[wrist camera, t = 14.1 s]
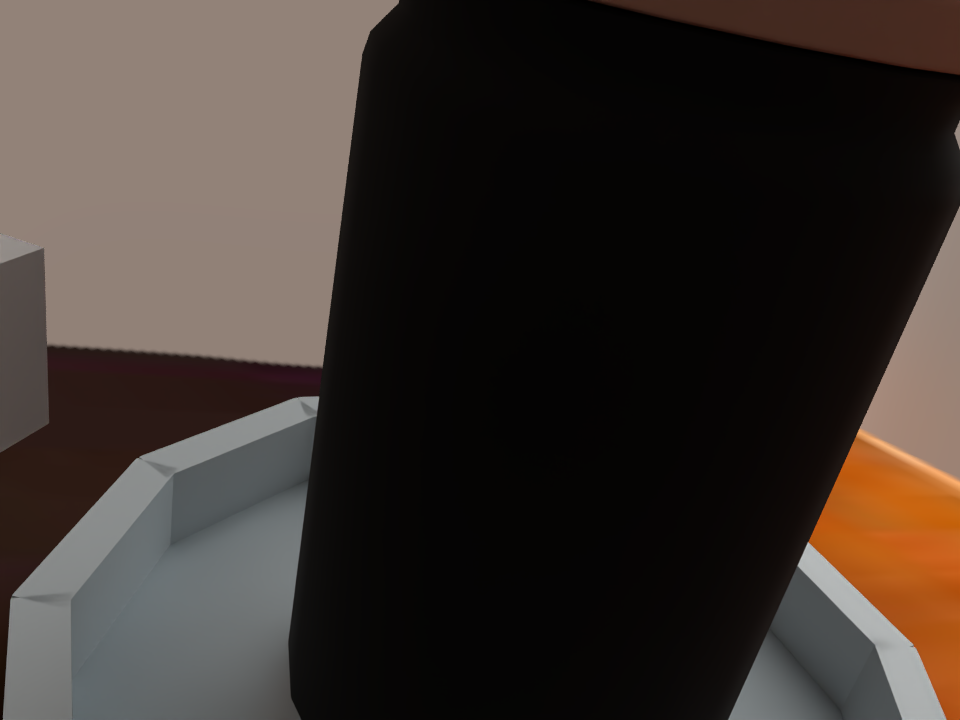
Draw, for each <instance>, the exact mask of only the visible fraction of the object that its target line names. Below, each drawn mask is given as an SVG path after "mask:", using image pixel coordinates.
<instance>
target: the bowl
mask: <svg viewBox="0 0 960 720" xmlns="http://www.w3.org/2000/svg"><path fill="white" fill-rule="evenodd" d="M318 402H319V397H298V399H297V398H294V399H291V400H289V401H286V402H283V403H281V404H278V405H275V406H273V407H270V408H267V409H265V410H262V411H259V412H257V413H254V414H252V415H249V416H246V417H244V418H241V419H238V420H236V421H233V422H230V423H228V424H225V425H222V426H220V427H217V428H214V429H212V430H209V431H206V432H204V433H201V434H199V435H196V436H193V437H191V438H188V439H185V440H183V441H180V442H177V443H175V444H172V445H169V446H167V447H164V448H161V449H159V450H156V451H153V452H151V453H148V454H146V455H143V456H140V457H139V459H138V458H137V459H136V460H135V461H134V462H133V463H132V464H131V465H130V466H129V467H128V469H127V470H126V471H125V472H124V473H123V474H122V475H121V476H120V477H119V478H118V479H117V481H116V482H115V483H114V484H113V485H112V486H111V487H110V488H109V489H108V490H107V492H106V493H105V494H104V495H103V496H102V497H101V498H100V499H99V500H98V501H97V503H96V504H95V505H94V506H93V507H92V508H91V509H90V510H89V511H88V512H87V514H86V515H85V516H84V517H83V518H82V519H81V520H80V521H79V522H78V523H77V525H76V526H75V527H74V528H73V529H72V530H71V531H70V532H69V533H68V534H67V536H66V537H65V538H64V539H63V540H62V541H61V542H60V543H59V544H58V545H57V547H56V548H55V549H54V550H53V551H52V552H51V553H50V554H49V555H48V556H47V557H46V559H45V560H44V561H43V562H42V563H41V564H40V565H39V566H38V567H37V568H36V570H35V571H34V572H33V573H32V574H31V575H30V576H29V577H28V578H27V579H26V581H25V582H24V583H23V584H22V585H21V586H20V587H19V588H18V589H17V590H16V592H15V593H14V594H13V595H12V598H11V603H10V619H9V634H8V649H7V664H6V679H5V695H4V710H3V720H301V718H300V716H299V714H298V712H297V710H296V708H295V706H294V703H293V701H292V699H291V691H290V671H289V651H288V639H289V631H290V623H291V616H292V608H293V600H294V592H295V584H296V576H297V568H298V560H299V552H300V544H301V536H302V528H303V521H304V513H305V505H306V497H307V489H308V481H309V473H310V465H311V457H312V449H313V441H314V433H315V426H316V418H317V410H318ZM913 646H914V645H913V644H912V643H911V642H910V641H909V640H908V639H907V638H906V637H905V636H904V635H903V634H902V633H901V632H900V631H899V630H898V629H897V628H896V627H894V626H893V625H892V624H891V623H890V622H889V621H888V620H887V619H886V618H885V617H884V616H883V615H882V614H881V613H880V612H879V611H878V610H877V609H876V608H875V607H874V606H873V605H872V604H871V603H870V602H869V601H868V600H867V599H866V598H865V597H864V596H863V595H862V594H861V593H860V592H859V591H858V590H857V589H856V588H855V587H853V586H852V585H851V584H850V583H849V582H848V581H847V580H846V579H845V578H844V577H843V576H842V575H841V574H840V573H839V572H838V571H837V570H836V569H835V568H834V567H833V566H832V565H831V564H830V563H829V562H828V561H827V560H826V559H825V558H824V557H823V556H822V555H821V554H820V553H819V552H818V551H817V550H816V549H815V548H814V547H813V546H811V545H810V544H809V543H808V544H807V546H806V548H805V550H804V553H803V555H802V557H801V559H800V561H799V564H798V566H797V568H796V570H795V573H794V575H793V577H792V579H791V581H790V584H789V586H788V588H787V590H786V592H785V595H784V597H783V599H782V601H781V604H780V606H779V608H778V610H777V612H776V615H775V617H774V619H773V621H772V624H771V626H770V628H769V630H768V632H767V635H766V637H765V639H764V641H763V644H762V646H761V648H760V650H759V652H758V655H757V657H756V659H755V661H754V664H753V666H752V668H751V670H750V672H749V675H748V677H747V679H746V681H745V683H744V686H743V688H742V690H741V692H740V695H739V697H738V699H737V701H736V703H735V706H734V708H733V710H732V712H731V715H730V717H729V719H728V720H946V718H945V715H944V713H943V711H942V708H941V706H940V703H939V701H938V699H937V696H936V694H935V692H934V689H933V687H932V685H931V682H930V680H929V678H928V675H927V673H926V670H925V668H924V666H923V663H922V661H921V659H920V656H919V654H918V652H917V649H916V648H914V647H913Z"/></svg>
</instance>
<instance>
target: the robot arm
mask: <svg viewBox="0 0 960 720" xmlns="http://www.w3.org/2000/svg"><path fill="white" fill-rule="evenodd" d="M45 302H46V301H45V267H44V248H43V247H40V246H37V245H34V244H31V243H28V242H25V241H22V240H19V239H16V238H13V237H10V236H7V235H4V234H1V233H0V452H2V451H3V450H5V449H7V448H8V447H10V446H12V445H13V444H15V443H17V442H18V441H20V440H22V439H23V438H25V437H27V436H28V435H30V434H32V433H33V432H35V431H37V430H38V429H40V428H42V427H43V426H45V425H47V424H48V423H49V408H48V373H47V338H46V303H45Z"/></svg>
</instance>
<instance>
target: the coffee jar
mask: <svg viewBox="0 0 960 720" xmlns="http://www.w3.org/2000/svg"><path fill="white" fill-rule="evenodd" d="M959 121H960V0H399V4H398V5H397V6H396V7H394V8H393V9H392V10H391V11H390V12H389V13H388V14H387V15H386V16H385V17H384V18H383V19H382V20H381V21H380V22H379V23H378V24H377V25H376V26H375V27H374V28H373V29H372V30H371V31H370V34H369V37H368V40H367V43H366V45H365V48H364V51H363V54H362V62H361V69H360V77H359V86H358V93H357V101H356V109H355V117H354V125H353V133H352V140H351V149H350V156H349V164H348V172H347V180H346V188H345V196H344V204H343V212H342V221H341V228H340V235H339V243H338V252H337V259H336V267H335V276H334V283H333V291H332V299H331V308H330V316H329V323H328V330H327V339H326V346H325V355H324V362H323V370H322V378H321V386H320V394H319V402H318V410H317V418H316V426H315V433H314V441H313V449H312V457H311V465H310V473H309V481H308V489H307V497H306V505H305V513H304V521H303V528H302V536H301V544H300V552H299V560H298V568H297V576H296V584H295V592H294V600H293V608H292V616H291V623H290V631H289V639H288V651H289V671H290V691H291V699H292V701H293V703H294V706H295V708H296V710H297V712H298V714H299V716H300V718H301V720H728V719H729V717H730V715H731V712H732V710H733V708H734V706H735V703H736V701H737V699H738V697H739V695H740V692H741V690H742V688H743V686H744V683H745V681H746V679H747V677H748V675H749V672H750V670H751V668H752V666H753V664H754V661H755V659H756V657H757V655H758V652H759V650H760V648H761V646H762V644H763V641H764V639H765V637H766V635H767V632H768V630H769V628H770V626H771V624H772V621H773V619H774V617H775V615H776V612H777V610H778V608H779V606H780V604H781V601H782V599H783V597H784V595H785V592H786V590H787V588H788V586H789V584H790V581H791V579H792V577H793V575H794V573H795V570H796V568H797V566H798V564H799V561H800V559H801V557H802V555H803V553H804V550H805V548H806V546H807V544H808V541H809V539H810V537H811V535H812V533H813V530H814V528H815V526H816V524H817V521H818V519H819V517H820V515H821V513H822V510H823V508H824V506H825V504H826V501H827V499H828V497H829V495H830V493H831V490H832V488H833V486H834V484H835V482H836V479H837V477H838V475H839V473H840V470H841V468H842V466H843V464H844V462H845V459H846V457H847V455H848V453H849V450H850V448H851V446H852V444H853V442H854V439H855V437H856V435H857V433H858V430H859V428H860V426H861V424H862V422H863V419H864V417H865V415H866V413H867V410H868V408H869V406H870V404H871V402H872V399H873V397H874V395H875V393H876V391H877V388H878V386H879V384H880V382H881V379H882V377H883V375H884V373H885V371H886V368H887V366H888V364H889V362H890V359H891V357H892V355H893V353H894V350H895V348H896V346H897V344H898V342H899V339H900V337H901V335H902V333H903V331H904V328H905V326H906V324H907V322H908V319H909V317H910V315H911V313H912V311H913V308H914V306H915V304H916V302H917V300H918V297H919V295H920V293H921V290H922V288H923V286H924V284H925V282H926V280H927V277H928V275H929V273H930V270H931V268H932V266H933V264H934V262H935V260H936V257H937V255H938V253H939V251H940V248H941V246H942V244H943V242H944V240H945V237H946V235H947V233H948V231H949V228H950V226H951V224H952V222H953V220H954V217H955V215H956V213H957V211H958V209H959V206H960V149H959V146H958V143H957V140H956V137H955V134H954V132H955V130H956V128H957V125H958V123H959Z"/></svg>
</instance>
